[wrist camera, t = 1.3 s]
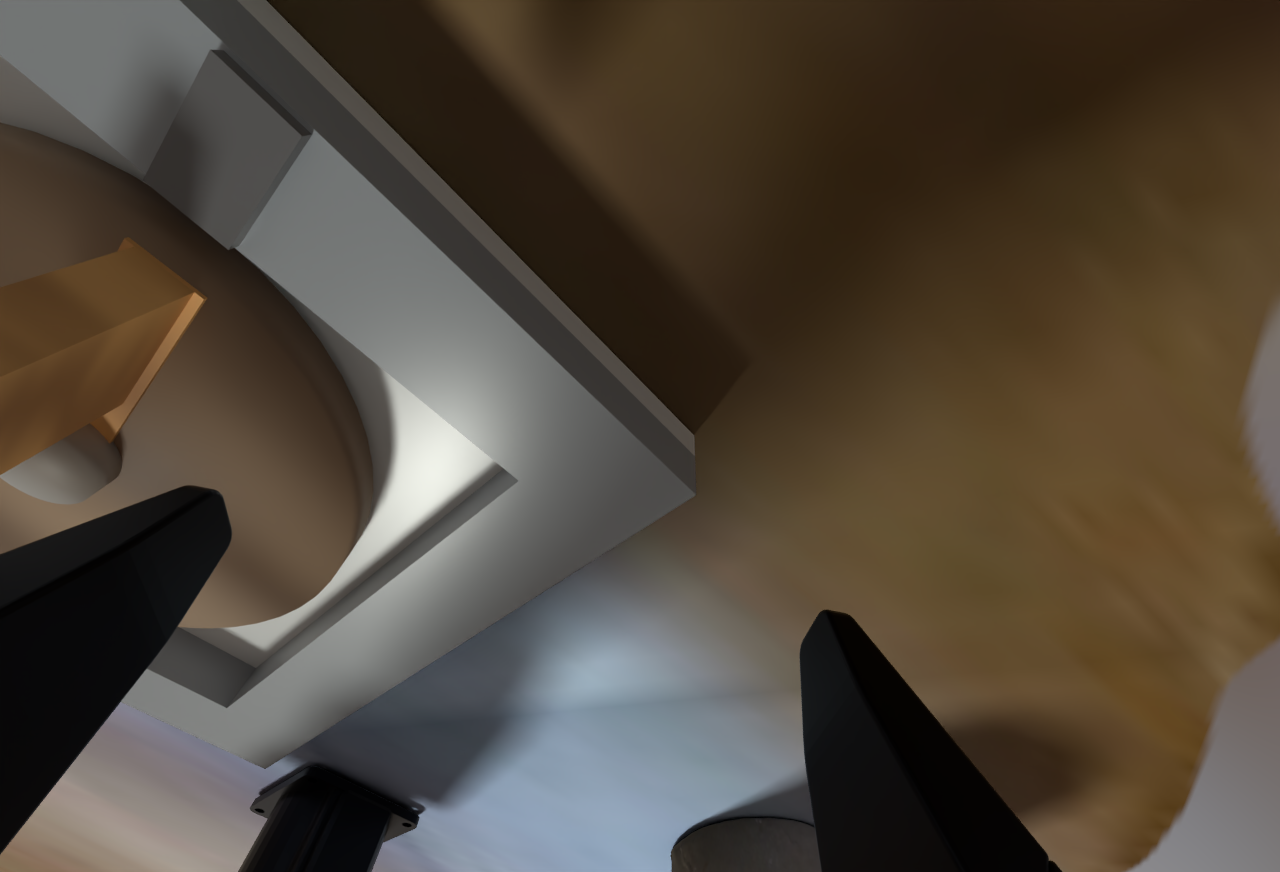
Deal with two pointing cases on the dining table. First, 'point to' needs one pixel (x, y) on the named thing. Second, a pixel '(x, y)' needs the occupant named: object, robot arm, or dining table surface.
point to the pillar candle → (749, 847)
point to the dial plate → (357, 352)
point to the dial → (165, 383)
